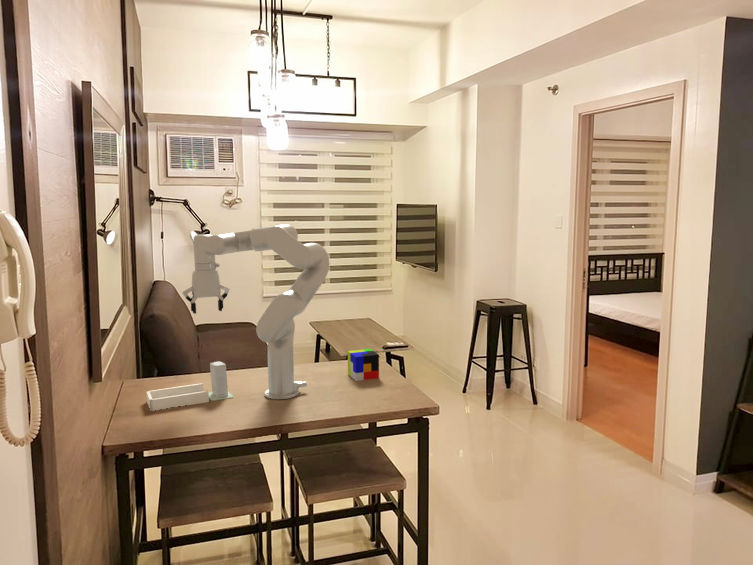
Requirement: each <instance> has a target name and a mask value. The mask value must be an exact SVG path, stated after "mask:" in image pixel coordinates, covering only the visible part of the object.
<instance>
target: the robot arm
mask: <svg viewBox="0 0 753 565" xmlns="http://www.w3.org/2000/svg"><path fill="white" fill-rule="evenodd" d="M298 235H299V234H298V231H297V229H296V228H295V227H294V226H292V225H291V224H277V225H271V226H263V227H255V228H252V229H250V230H245V231H237V232H230V233H229V232H227V233H221V234H220V233H219V234H215V235H214V234H209V233H208V234H196V235H194V236H193V254H194V255H193V256H194V258H193V259H194V270H193V271H192V275H191V286H190V287H188V288H186V289H185V290H183V291H182V295H183V296H184V298H185V299H186V300H187V301H188V302H189V303H190V310H191V312H192V313H193V314H194V315H195V314H197V304H196V301H197V299H201V298H214V297H217V309H218V311H219V312H222V311H223V309H224V300H225V299H226V298H227V296H228V294H229V292H230V290H231V289H230V288H229V287H227V286H224V285H222V284H221V282H220V276H219V272H218V270H217V268H219V267H220V263H216V262H217V261H216V255H217V256H222V255H227V254H228V255H229V254H234V253H240V252H248V251H255V252H263V251H273V252H274V253H275V254H276V255H278V256H279V257H280V258H282V259H283V260H284V261H286V262H287V263H288V264H290V265H291V266H293V267H294V268H297V269H299V270H302V272H301V273H300V274H299V275H298V277H297V278H296V279H295V281H294V283H293V284H292V285H291V287H290V288H289V289H287V290H286V291H284V292H281V293H279V294H278V295H277V296H275V297H274V299H272V301H271V302H270V304H269V305H268V306H267V308H266V309H265V311H264V312H263V314H262V316H261V317H260V318H259V320H258V321H257V324H256V328H255V329H256V335H257V338H258V339H259V340H260V341H262V342H264V343H267V378H268V389H266V390H265V391H264V396H265V397H266V398H267V399H270V398H271V400H288V399H291V398H294V397H296V396H298V395H299V394H300V393H299V389H300V388H305V387H307V386H308V385H307V381H301V380H299V381H298V380H297V381H295V366H294V363H295V362H294V339H295V336H294V335H295V328H296V327H295V326H296V325H295V324H296V323H295V319H294V318H295V317H296V316H299V315H301V314H302V313H303V312H304V311H305V310H306V308H307V307H308V305H309V304H310V302H311V301H312V300H313V298H314V297H315V295H316V293H317V292H318V290H319V289H320V287H321V286H322V285H323V283H324V281H326V280H325V279H326V278H327V276H328V273H329V270H330V257H329V254H328V252H327V250H326V248H324V246H322V245H321V243H320V244H319V243H317V242H309V243H308V242H307V243H302V242H301V241H300V240H298V237H299V236H298ZM221 290H223V291H224V292H223V293H222V295H221ZM189 293H191V295H192V297H190V296H189V295H188V294H189Z"/></svg>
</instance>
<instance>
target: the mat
mask: <svg viewBox="0 0 753 565" xmlns="http://www.w3.org/2000/svg"><path fill="white" fill-rule="evenodd" d="M208 392H209V401H211V402H214V401H221V400H226V399H227V400H228V399H233V398H234V396H233V394H232V393H231V392H230V391H229V390H228V396H224V397H217V396H215V395H214V394H212V391H208Z"/></svg>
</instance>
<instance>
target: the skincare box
mask: <svg viewBox="0 0 753 565" xmlns="http://www.w3.org/2000/svg"><path fill="white" fill-rule="evenodd" d="M209 369H210V383H211V392H212V394H214V395H215V396H217V397H224V396H228V391H229V389H228V387H229V386H228V376H227V375H228V374H227V365H226V363H225V362H222V361H212V362H210V363H209Z"/></svg>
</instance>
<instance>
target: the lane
mask: <svg viewBox="0 0 753 565" xmlns="http://www.w3.org/2000/svg"><path fill="white" fill-rule="evenodd" d="M145 392H146V403H147V406H148V409H149V408H150V409H149V411H150V412H156V411H161V410H160V409H162V410H167V409H166V408H168V409H171V408H170V407H175V408H179V407H178V406H181V407H185V405H187V406H193V405H198V404H205V403H209V402H210V398H209V392H210V391H209V390H204V382H201V383H194V384H188V385H187V384H186V385H181V386H180V385H179V386H173V387H167V388H165V387H164V388H159V389H154V390H146V391H145ZM155 410H156V411H155Z"/></svg>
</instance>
